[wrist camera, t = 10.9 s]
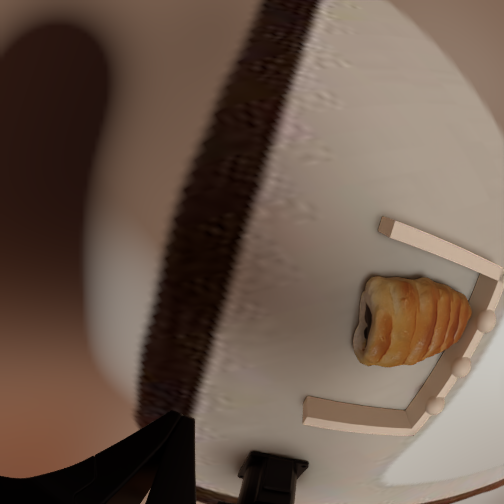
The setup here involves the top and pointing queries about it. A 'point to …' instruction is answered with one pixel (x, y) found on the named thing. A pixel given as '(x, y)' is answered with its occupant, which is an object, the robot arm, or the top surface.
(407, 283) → the pastry
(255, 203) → the top surface
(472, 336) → the frame
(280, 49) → the top surface
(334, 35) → the top surface
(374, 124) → the top surface
